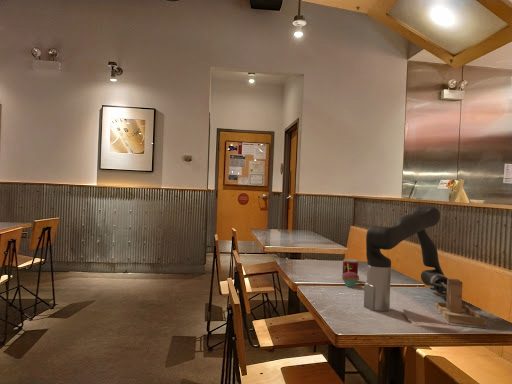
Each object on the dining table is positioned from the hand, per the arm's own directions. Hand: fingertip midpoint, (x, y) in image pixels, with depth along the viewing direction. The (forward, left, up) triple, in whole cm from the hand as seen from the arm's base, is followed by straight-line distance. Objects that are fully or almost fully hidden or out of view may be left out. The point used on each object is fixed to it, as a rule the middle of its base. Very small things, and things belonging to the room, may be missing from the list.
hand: (451, 292), depth 158 cm
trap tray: (-5, -9, -8) cm, 13 cm away
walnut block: (-2, -4, -6) cm, 8 cm away
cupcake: (-19, +46, -8) cm, 51 cm away
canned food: (-12, +58, -8) cm, 60 cm away
